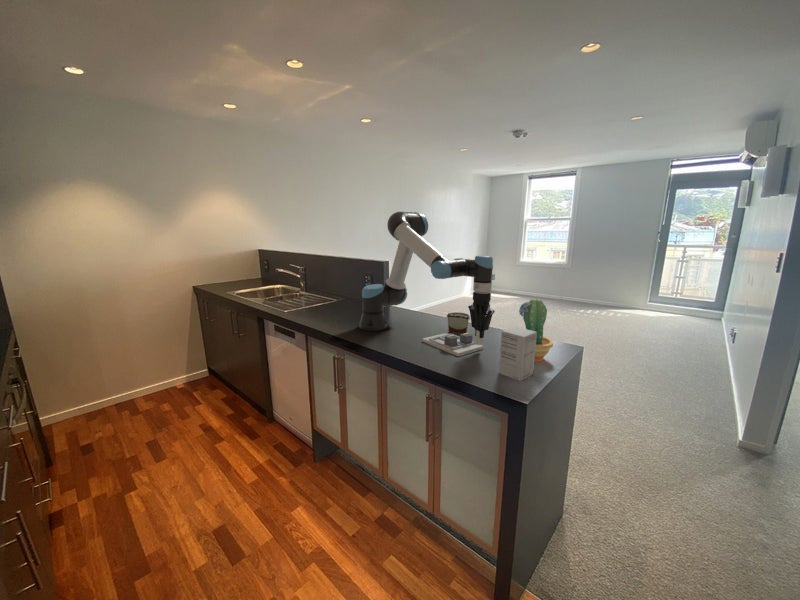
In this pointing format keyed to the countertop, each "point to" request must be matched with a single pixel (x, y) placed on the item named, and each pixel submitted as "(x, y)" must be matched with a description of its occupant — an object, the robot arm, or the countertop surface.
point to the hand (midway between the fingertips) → (478, 344)
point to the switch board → (456, 350)
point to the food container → (458, 322)
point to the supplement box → (517, 353)
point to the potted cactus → (536, 325)
